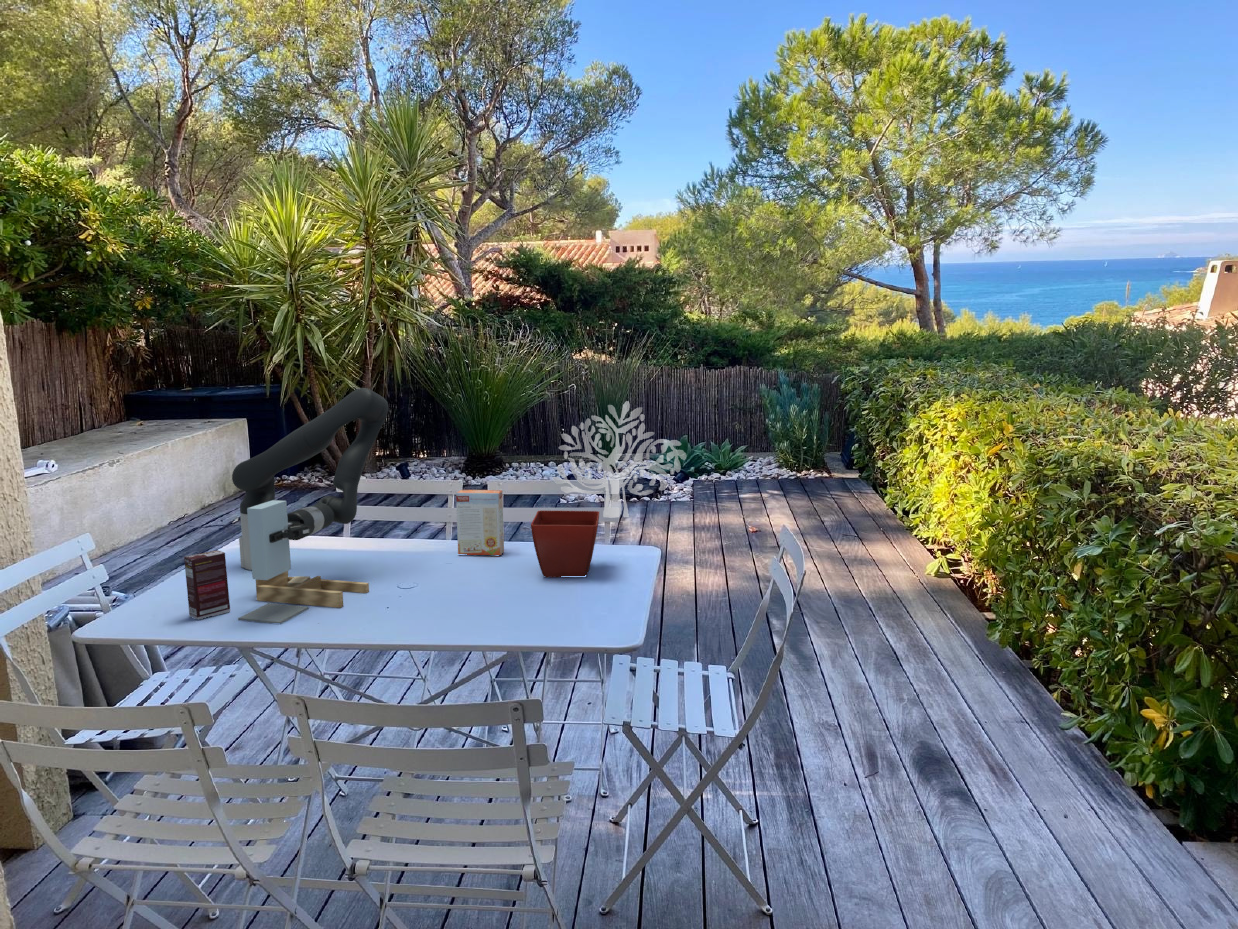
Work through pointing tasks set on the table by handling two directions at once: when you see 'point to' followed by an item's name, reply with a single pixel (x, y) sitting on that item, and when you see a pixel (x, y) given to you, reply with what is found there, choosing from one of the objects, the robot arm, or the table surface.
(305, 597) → the frame
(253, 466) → the robot arm
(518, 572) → the table surface
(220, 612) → the supplement box
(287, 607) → the mat
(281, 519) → the upright blue-grey block
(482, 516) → the cracker box
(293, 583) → the offcut slab upper
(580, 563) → the plant pot
